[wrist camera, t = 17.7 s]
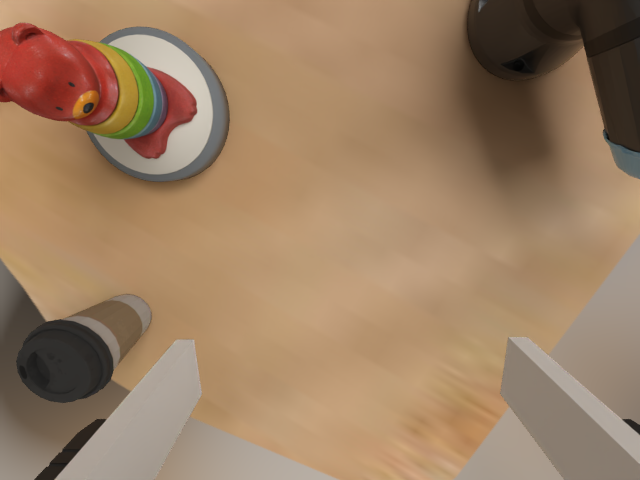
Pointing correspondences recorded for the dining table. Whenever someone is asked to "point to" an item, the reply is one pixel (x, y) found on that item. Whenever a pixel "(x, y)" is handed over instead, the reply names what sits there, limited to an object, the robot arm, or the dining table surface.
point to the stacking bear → (92, 88)
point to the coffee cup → (81, 349)
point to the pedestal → (186, 139)
